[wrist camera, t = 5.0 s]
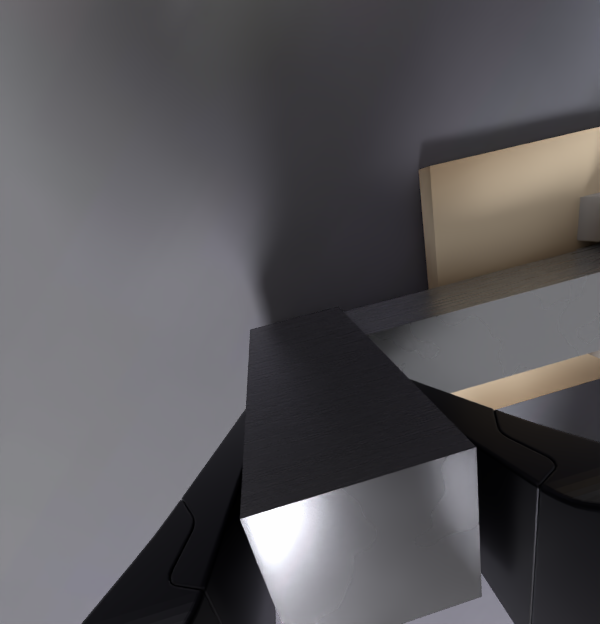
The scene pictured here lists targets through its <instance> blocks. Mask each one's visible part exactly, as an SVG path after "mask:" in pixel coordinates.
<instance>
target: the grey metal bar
mask: <svg viewBox="0 0 600 624" xmlns="http://www.w3.org/2000/svg"><path fill="white" fill-rule="evenodd" d="M598 350H600V245H596V246H593V247H589V248H585V249H581V250H577V251H573V252H570V253H566V254H562V255H558V256H554V257H551V258H547V259H543V260H539V261H535V262H531V263H528V264H524V265H520V266H516V267H512V268H509V269H505V270H501V271H497V272H493V273H489V274H486V275H482V276H478V277H474V278H470V279H466V280H463V281H459V282H455V283H451V284H447V285H444V286H440V287H436V288H432V289H428V290H424V291H421V292H417V293H413V294H409V295H405V296H402V297H398V298H394V299H390V300H386V301H382V302H379V303H375V304H371V305H367V306H363V307H359V308H356V309H352V310H348V311H344V312H343V311H342V310H341V309H340V308H339V307H336V308H332V309H328V310H324V311H320V312H316V313H313V314H309V315H305V316H301V317H297V318H293V319H289V320H286V321H282V322H278V323H274V324H270V325H266V326H263V327H259V328H255V329H251V330H250V345H249V363H248V381H247V399H246V417H245V436H244V454H243V472H242V490H241V509H240V521H241V523H242V526H243V528H244V531H245V533H246V536H247V538H248V541H249V543H250V546H251V548H252V551H253V553H254V556H255V558H256V561H257V563H258V566H259V568H260V571H261V573H262V576H263V578H264V581H265V583H266V586H267V588H268V590H269V593H270V595H271V598H272V600H273V603H274V605H275V608H276V610H277V613H278V615H279V618H280V620H281V623H282V624H403V623H406V622H409V621H412V620H415V619H418V618H421V617H424V616H426V615H429V614H432V613H435V612H438V611H441V610H444V609H447V608H450V607H453V606H456V605H459V604H462V603H464V602H467V601H470V600H473V599H476V598H479V597H482V591H481V563H480V535H479V507H478V479H477V451H476V446H475V445H474V444H473V443H472V442H471V441H470V440H469V439H468V438H467V437H466V436H465V435H464V434H463V433H462V432H461V431H460V430H459V429H458V428H457V427H456V426H455V425H454V424H453V423H452V422H451V421H450V420H449V419H448V418H447V417H446V416H445V415H444V414H443V413H442V412H441V411H440V410H439V409H438V408H437V407H436V406H435V405H434V404H433V403H432V402H431V400H430V399H429V398H428V397H427V396H426V395H425V394H424V393H423V392H422V391H421V390H420V389H419V388H418V387H417V386H416V385H415V384H414V383H413V382H412V381H411V380H414V381H417V382H420V383H423V384H425V385H428V386H431V387H434V388H437V389H439V390H442V391H445V392H448V393H453V392H456V391H460V390H463V389H467V388H470V387H474V386H477V385H481V384H484V383H488V382H491V381H495V380H498V379H501V378H505V377H508V376H512V375H515V374H519V373H522V372H526V371H529V370H533V369H536V368H540V367H543V366H546V365H550V364H553V363H557V362H560V361H564V360H567V359H571V358H574V357H578V356H581V355H585V354H588V353H591V352H595V351H598ZM410 379H411V380H410Z"/></svg>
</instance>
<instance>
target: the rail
mask: <svg viewBox="0 0 600 624" xmlns="http://www.w3.org/2000/svg"><path fill="white" fill-rule="evenodd" d="M419 181H420V193H421V205H422V217H423V229H424V241H425V253H426V265H427V277H428V288H429V289H432V288H436V287H440V286H444V285H447V284H451V283H455V282H459V281H463V280H466V279H470V278H474V277H478V276H482V275H486V274H489V273H493V272H497V271H501V270H505V269H509V268H512V267H516V266H520V265H524V264H528V263H531V262H535V261H539V260H543V259H547V258H551V257H554V256H558V255H562V254H566V253H570V252H573V251H577V250H581V249H585V248H589V247H593V246H596V245H600V127H597V128H592V129H588V130H584V131H579V132H575V133H571V134H566V135H562V136H558V137H553V138H549V139H545V140H540V141H536V142H532V143H527V144H523V145H519V146H514V147H510V148H506V149H501V150H497V151H493V152H488V153H484V154H480V155H475V156H471V157H467V158H462V159H458V160H454V161H449V162H445V163H441V164H436V165H432V166H428V167H425V168H422V169H419ZM597 379H600V350H598V351H595V352H591V353H588V354H585V355H581V356H578V357H574V358H571V359H567V360H564V361H560V362H557V363H553V364H550V365H546V366H543V367H540V368H536V369H533V370H529V371H526V372H522V373H519V374H515V375H512V376H508V377H505V378H501V379H498V380H495V381H491V382H488V383H484V384H481V385H477V386H474V387H470V388H467V389H463V390H460V391H456V392H453V393H450V394H453V395H456V396H459V397H462V398H464V399H467V400H470V401H473V402H476V403H478V404H481V405H484V406H487V407H490V408H492V409H493V410H496V409H499V408H502V407H506V406H509V405H512V404H516V403H519V402H523V401H526V400H529V399H533V398H536V397H539V396H543V395H546V394H550V393H553V392H556V391H560V390H563V389H566V388H570V387H573V386H577V385H580V384H583V383H587V382H590V381H593V380H597Z"/></svg>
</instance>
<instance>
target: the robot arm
mask: <svg viewBox="0 0 600 624" xmlns="http://www.w3.org/2000/svg"><path fill="white" fill-rule="evenodd" d="M410 380H411V379H410ZM411 381H412V382H413V383H414V384H415V385H416V386H417V387H418V388H419V389H420V390H421V391H422V392H423V393H424V394H425V395H426V396H427V397H428V398H429V399H430V400H431V402H432V403H433V404H434V405H435V406H436V407H437V408H438V409H439V410H440V411H441V412H442V413H443V414H444V415H445V416H446V417H447V418H448V419H449V420H450V421H451V422H452V423H453V424H454V425H455V426H456V427H457V428H458V429H459V430H460V431H461V432H462V433H463V434H464V435H465V436H466V437H467V438H468V439H469V440H470V441H471V442H472V443H473V444H474V445H475V446H476V451H477V479H478V507H479V535H480V563H481V573H482V575H483V576H484V578H485V579H486V581H487V582H488V584H489V585H490V587H491V588H492V590H493V592H494V593H495V595H496V596H497V598H498V599H499V601H500V602H501V604H502V605H503V607H504V609H505V610H506V612H507V613H508V615H509V616H510V618H511V619H512V621H513V622H514V624H600V442H597V441H593V440H590V439H586V438H583V437H579V436H576V435H572V434H569V433H566V432H562V431H559V430H556V429H552V428H549V427H546V426H542V425H539V424H536V423H533V422H530V421H527V420H524V419H521V418H518V417H515V416H512V415H509V414H507V413H504V412H501V411H498V410H493V409H492V408H490V407H487V406H484V405H481V404H478V403H476V402H473V401H470V400H467V399H464V398H462V397H459V396H456V395H453V394H450V393H448V392H445V391H442V390H439V389H437V388H434V387H431V386H428V385H425V384H423V383H420V382H417V381H414V380H411ZM245 417H246V409H245V411H244V412H243V413H242V415H241V416H240V418H239V419H238V420H237V422H236V423H235V425H234V426H233V427H232V429H231V430H230V432H229V433H228V434H227V436H226V437H225V439H224V440H223V441H222V443H221V444H220V446H219V447H218V448H217V450H216V451H215V453H214V454H213V455H212V457H211V458H210V460H209V461H208V462H207V464H206V465H205V467H204V468H203V469H202V471H201V472H200V473H199V475H198V476H197V478H196V479H195V480H194V482H193V483H192V485H191V486H190V487H189V489H188V490H187V492H186V493H185V494H184V496H183V497H182V500H180V501H179V503H178V504H177V505H176V507H175V508H174V510H173V511H172V512H171V514H170V515H169V516H168V518H167V519H166V520H165V522H164V523H163V525H162V526H161V527H160V529H159V530H158V531H157V533H156V534H155V535H154V536H153V538H152V539H151V540H150V541H149V543H148V544H147V545H146V546H145V548H144V549H143V550H142V551H141V553H140V554H139V555H138V556H137V558H136V559H135V560H134V561H133V562H132V564H131V565H130V566H129V567H128V568H127V570H126V571H125V572H124V573H123V574H122V576H121V577H120V578H119V579H118V580H117V582H116V583H115V584H114V585H113V586H112V588H111V589H110V590H109V591H108V592H107V594H106V595H105V596H104V597H103V598H102V600H101V601H100V602H99V603H98V604H97V606H96V607H95V608H94V609H93V610H92V612H91V613H90V614H89V615H88V617H87V618H86V619H85V620H84V621H83V623H82V624H276V614H275V605H274V603H273V600H272V598H271V595H270V593H269V590H268V588H267V586H266V583H265V581H264V578H263V576H262V573H261V571H260V568H259V566H258V563H257V561H256V558H255V556H254V553H253V551H252V548H251V546H250V543H249V541H248V538H247V536H246V533H245V531H244V528H243V526H242V523H241V521H240V509H241V490H242V472H243V454H244V436H245Z"/></svg>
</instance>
